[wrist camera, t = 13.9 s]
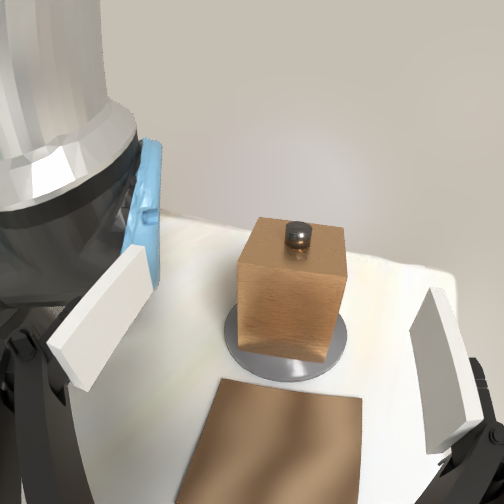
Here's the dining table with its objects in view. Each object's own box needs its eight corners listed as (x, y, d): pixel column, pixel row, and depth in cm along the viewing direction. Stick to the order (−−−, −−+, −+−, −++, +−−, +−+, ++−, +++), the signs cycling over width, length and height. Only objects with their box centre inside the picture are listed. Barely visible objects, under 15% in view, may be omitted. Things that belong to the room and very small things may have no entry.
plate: (199, 339, 33) (198, 333, 33) (270, 282, 43) (271, 276, 42) (307, 404, 26) (309, 399, 25) (362, 323, 36) (364, 317, 35)
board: (175, 506, 17) (174, 505, 17) (222, 380, 28) (222, 378, 28) (352, 533, 14) (353, 533, 14) (361, 400, 26) (362, 398, 26)
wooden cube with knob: (238, 350, 31) (237, 244, 24) (256, 297, 38) (259, 203, 32) (323, 363, 29) (351, 260, 23) (327, 307, 37) (345, 213, 30)
